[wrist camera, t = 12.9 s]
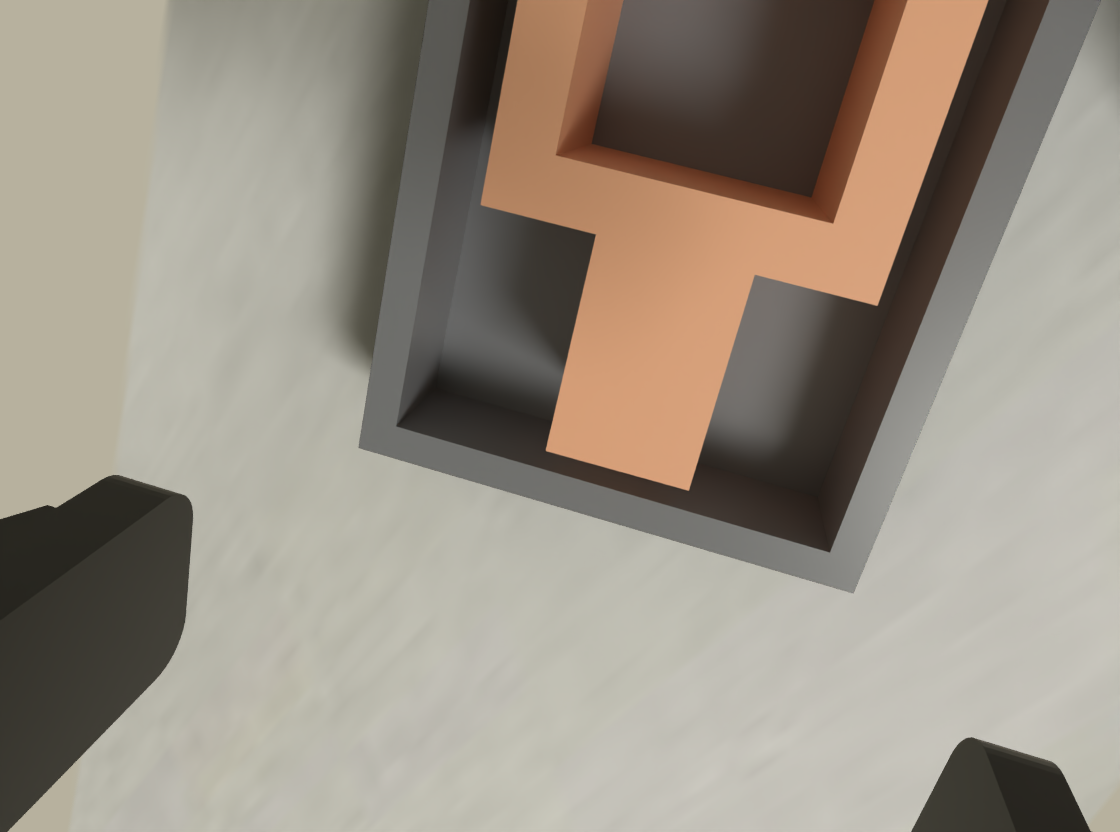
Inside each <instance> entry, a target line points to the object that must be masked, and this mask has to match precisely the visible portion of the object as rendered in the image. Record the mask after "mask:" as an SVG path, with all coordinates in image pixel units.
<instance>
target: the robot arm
mask: <svg viewBox="0 0 1120 832" xmlns="http://www.w3.org/2000/svg"><path fill="white" fill-rule="evenodd" d="M192 524H193V510H192V505H191V502H190V500H189V499H188V498H187V497H186V496H185V495H182V494H179V493H175V492H172V491H169V490H165V489H162V488H159V487H156V486H152V485H149V484H146V483H142V482H139V481H136V480H133V479H129V478H126V477H123V476H119V475H112V476H108V477H106V478H104V479H102V480H100V481H99V482H97V483H96V484H94V485H92V486H91V487H89V488H88V489H86V490H84V491H83V492H81V493H80V494H78V495H76V496H75V497H73V498H72V499H70V500H68V501H67V502H65V503H63V504H62V505H60V506H59V507H57V508H54V507H52V506H48V505H47V506H43V507H40V508H37V509H33V510H30V511H27V512H23V513H20V514H16V515H13V516H10V517H7V518H3V519H0V832H7V831H9V829H10V828H11V827H12V826H13V825H14V824H15V823H16V822H17V821H18V820H19V819H20V818H21V817H22V816H23V815H24V814H25V813H26V812H27V811H28V810H29V809H30V808H31V807H32V806H33V805H34V804H35V803H36V802H37V801H38V800H39V799H40V798H41V797H42V796H43V794H44V793H46V792H47V791H48V789H49V788H50V787H51V786H52V785H53V784H54V783H55V782H56V781H57V780H58V779H59V778H60V777H61V776H62V775H63V774H64V773H65V772H66V771H67V770H68V769H69V768H70V767H71V766H72V765H73V764H74V763H75V762H76V761H77V760H78V759H79V758H80V757H81V756H82V755H83V754H84V753H85V752H86V751H87V749H88V748H89V747H90V746H91V745H92V744H93V743H94V742H95V741H96V740H97V739H98V738H99V737H100V736H101V735H102V734H103V733H104V732H105V731H106V730H107V729H108V728H109V727H110V726H111V725H112V724H113V723H114V722H115V721H116V720H117V719H118V718H119V717H120V716H121V715H122V714H123V713H124V712H125V710H126V709H127V708H128V707H129V706H130V705H131V704H132V703H133V702H134V701H135V700H136V699H137V698H138V697H139V696H140V695H141V694H142V693H143V692H144V691H145V690H146V689H147V688H148V687H149V686H150V685H151V684H152V683H153V682H154V681H155V680H156V679H157V677H158V676H159V675H160V674H161V673H162V671H163V670H164V669H165V667H166V666H167V664H168V663H169V661H170V659H171V658H172V656H173V654H174V652H175V650H176V648H177V645H178V643H179V640H180V638H181V635H182V631H183V628H184V623H185V617H186V605H187V592H188V578H189V565H190V551H191V538H192ZM911 832H1091V831H1090V829H1089V827H1088V825H1087V823H1086V821H1085V819H1084V817H1083V815H1082V812H1081V810H1080V808H1079V806H1078V804H1077V802H1076V800H1075V798H1074V796H1073V794H1072V792H1071V790H1070V787H1069V785H1068V783H1067V781H1066V779H1065V777H1064V775H1063V773H1062V772H1061V770H1060V769H1059V768H1058V767H1057V765H1056V764H1054V763H1053V762H1051V761H1048V760H1044V759H1041V758H1038V757H1034V756H1031V755H1028V754H1025V753H1021V752H1018V751H1015V750H1011V749H1008V748H1005V747H1002V746H998V745H995V744H992V743H989V742H985V741H982V740H979V739H975V738H972V737H971V738H966V739H964V740H963V741H961V742H960V743H959V744H958V745H957V747H956V748H955V749H954V751H953V753H952V754H951V756H950V758H949V760H948V762H947V764H946V766H945V768H944V770H943V771H942V773H941V775H940V777H939V779H938V781H937V783H936V785H935V787H934V789H933V791H932V793H931V795H930V797H929V798H928V800H927V802H926V804H925V806H924V808H923V810H922V812H921V814H920V816H919V818H918V820H917V822H916V824H915V826H914V827H913V829H912V831H911Z"/></svg>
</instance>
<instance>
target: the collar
mask: <svg viewBox="0 0 1120 832" xmlns="http://www.w3.org/2000/svg"><path fill="white" fill-rule="evenodd" d="M987 3H988V0H874V3H873V6H872V10H871V13H870V16H869V19H868V22H867V25H866V28H865V32H864V35H863V38H862V41H861V44H860V47H859V50H858V53H857V57H856V60H855V63H854V66H853V69H852V72H851V75H850V78H849V82H848V85H847V88H846V91H845V94H844V97H843V100H842V104H841V107H840V110H839V113H838V116H837V119H836V122H835V125H834V129H833V132H832V135H831V138H830V141H829V144H828V147H827V151H826V154H825V157H824V160H823V163H822V166H821V169H820V172H819V176H818V179H817V182H816V185H815V188H814V191H813V194H812V197H807V196H803V195H799V194H795V193H791V192H787V191H783V190H778V189H774V188H770V187H766V186H762V185H758V184H754V183H750V182H746V181H742V180H737V179H733V178H729V177H725V176H721V175H717V174H713V173H709V172H705V171H701V170H697V169H692V168H688V167H684V166H680V165H676V164H672V163H668V162H664V161H660V160H656V159H651V158H647V157H643V156H639V155H635V154H631V153H627V152H623V151H619V150H615V149H611V148H606V147H602V146H598V145H594V144H592V139H593V135H594V130H595V126H596V121H597V117H598V112H599V108H600V103H601V99H602V94H603V90H604V85H605V81H606V76H607V72H608V67H609V63H610V58H611V54H612V49H613V45H614V40H615V36H616V31H617V27H618V22H619V18H620V13H621V9H622V4H623V0H518V1H517V7H516V12H515V18H514V23H513V29H512V34H511V40H510V45H509V51H508V56H507V62H506V67H505V73H504V78H503V84H502V89H501V95H500V100H499V106H498V111H497V117H496V122H495V128H494V133H493V139H492V144H491V150H490V155H489V161H488V166H487V172H486V177H485V183H484V188H483V194H482V199H481V205H482V206H486V207H490V208H494V209H498V210H502V211H506V212H510V213H514V214H518V215H522V216H525V217H529V218H533V219H537V220H541V221H545V222H549V223H553V224H557V225H561V226H565V227H569V228H573V229H577V230H581V231H585V232H589V233H592V234H596V237H595V241H594V245H593V250H592V254H591V258H590V263H589V267H588V271H587V275H586V280H585V284H584V288H583V293H582V297H581V301H580V306H579V310H578V314H577V318H576V323H575V327H574V331H573V336H572V340H571V344H570V348H569V353H568V357H567V361H566V366H565V370H564V374H563V378H562V383H561V387H560V391H559V396H558V400H557V404H556V408H555V413H554V417H553V421H552V426H551V430H550V434H549V438H548V443H547V447H546V451H548V452H551V453H555V454H559V455H562V456H566V457H569V458H573V459H577V460H580V461H584V462H587V463H591V464H595V465H598V466H602V467H605V468H609V469H613V470H616V471H620V472H623V473H627V474H630V475H634V476H638V477H641V478H645V479H648V480H652V481H656V482H659V483H663V484H666V485H670V486H674V487H677V488H681V489H684V490H688V491H689V489H690V485H691V482H692V479H693V475H694V472H695V469H696V466H697V462H698V459H699V456H700V453H701V449H702V446H703V443H704V439H705V436H706V433H707V430H708V426H709V423H710V420H711V417H712V413H713V410H714V407H715V403H716V400H717V397H718V394H719V390H720V387H721V384H722V381H723V377H724V374H725V371H726V367H727V364H728V361H729V358H730V354H731V351H732V348H733V345H734V341H735V338H736V335H737V331H738V328H739V325H740V322H741V318H742V315H743V312H744V309H745V305H746V302H747V299H748V295H749V292H750V289H751V286H752V282H753V279H754V276H755V275H758V276H762V277H766V278H770V279H774V280H778V281H782V282H786V283H790V284H793V285H797V286H801V287H805V288H809V289H813V290H817V291H821V292H825V293H829V294H833V295H837V296H841V297H845V298H849V299H853V300H857V301H860V302H864V303H868V304H872V305H876V306H878V303H879V300H880V298H881V295H882V292H883V289H884V287H885V284H886V281H887V278H888V276H889V273H890V270H891V267H892V265H893V262H894V259H895V256H896V254H897V251H898V248H899V245H900V243H901V240H902V237H903V234H904V232H905V229H906V226H907V223H908V220H909V218H910V215H911V212H912V209H913V207H914V204H915V201H916V198H917V196H918V193H919V190H920V187H921V185H922V182H923V179H924V176H925V174H926V171H927V168H928V165H929V163H930V160H931V157H932V154H933V152H934V149H935V146H936V143H937V141H938V138H939V135H940V132H941V130H942V127H943V124H944V121H945V119H946V116H947V113H948V110H949V108H950V105H951V102H952V99H953V97H954V94H955V91H956V88H957V86H958V83H959V80H960V77H961V75H962V72H963V69H964V66H965V64H966V61H967V58H968V55H969V53H970V50H971V47H972V44H973V42H974V39H975V36H976V33H977V31H978V28H979V25H980V22H981V20H982V17H983V14H984V11H985V9H986V6H987Z"/></svg>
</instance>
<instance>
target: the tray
mask: <svg viewBox="0 0 1120 832" xmlns="http://www.w3.org/2000/svg"><path fill="white" fill-rule="evenodd" d="M517 1H518V0H429V3H428V9H427V16H426V22H425V28H424V35H423V41H422V47H421V54H420V60H419V66H418V73H417V79H416V85H415V92H414V98H413V105H412V111H411V117H410V124H409V130H408V136H407V143H406V149H405V155H404V162H403V168H402V174H401V181H400V187H399V194H398V200H397V206H396V213H395V219H394V225H393V232H392V238H391V244H390V251H389V257H388V263H387V270H386V276H385V283H384V289H383V295H382V302H381V308H380V314H379V321H378V327H377V333H376V340H375V346H374V352H373V359H372V365H371V371H370V378H369V384H368V391H367V397H366V403H365V410H364V416H363V422H362V429H361V435H360V441H359V448H361V449H364V450H367V451H371V452H374V453H378V454H381V455H384V456H388V457H391V458H395V459H398V460H401V461H405V462H408V463H412V464H415V465H418V466H422V467H425V468H429V469H432V470H435V471H439V472H442V473H446V474H449V475H452V476H456V477H459V478H463V479H466V480H469V481H473V482H476V483H480V484H483V485H486V486H490V487H493V488H497V489H500V490H503V491H507V492H510V493H514V494H517V495H520V496H524V497H527V498H531V499H534V500H537V501H541V502H544V503H548V504H551V505H554V506H558V507H561V508H564V509H568V510H571V511H575V512H578V513H581V514H585V515H588V516H592V517H595V518H598V519H602V520H605V521H609V522H612V523H615V524H619V525H622V526H626V527H629V528H632V529H636V530H639V531H643V532H646V533H649V534H653V535H656V536H660V537H663V538H666V539H670V540H673V541H677V542H680V543H683V544H687V545H690V546H694V547H697V548H700V549H704V550H707V551H711V552H714V553H717V554H721V555H724V556H728V557H731V558H734V559H738V560H741V561H745V562H748V563H751V564H755V565H758V566H762V567H765V568H768V569H772V570H775V571H779V572H782V573H785V574H789V575H792V576H796V577H799V578H802V579H806V580H809V581H813V582H816V583H819V584H823V585H826V586H830V587H833V588H836V589H840V590H843V591H847V592H850V593H854V591H855V588H856V586H857V584H858V581H859V579H860V576H861V574H862V572H863V569H864V567H865V564H866V562H867V560H868V557H869V555H870V552H871V550H872V548H873V545H874V543H875V541H876V538H877V536H878V533H879V531H880V529H881V526H882V524H883V521H884V519H885V517H886V514H887V512H888V509H889V507H890V505H891V502H892V500H893V497H894V495H895V493H896V490H897V488H898V485H899V483H900V481H901V478H902V476H903V473H904V471H905V469H906V466H907V464H908V461H909V459H910V457H911V454H912V452H913V450H914V447H915V445H916V442H917V440H918V438H919V435H920V433H921V430H922V428H923V426H924V423H925V421H926V418H927V416H928V414H929V411H930V409H931V406H932V404H933V402H934V399H935V397H936V394H937V392H938V390H939V387H940V385H941V382H942V380H943V378H944V375H945V373H946V370H947V368H948V366H949V363H950V361H951V359H952V356H953V354H954V351H955V349H956V347H957V344H958V342H959V339H960V337H961V335H962V332H963V330H964V327H965V325H966V323H967V320H968V318H969V315H970V313H971V311H972V308H973V306H974V303H975V301H976V299H977V296H978V294H979V291H980V289H981V287H982V284H983V282H984V279H985V277H986V275H987V272H988V270H989V268H990V265H991V263H992V260H993V258H994V256H995V253H996V251H997V248H998V246H999V244H1000V241H1001V239H1002V236H1003V234H1004V232H1005V229H1006V227H1007V224H1008V222H1009V220H1010V217H1011V215H1012V212H1013V210H1014V208H1015V205H1016V203H1017V200H1018V198H1019V196H1020V193H1021V191H1022V188H1023V186H1024V184H1025V181H1026V179H1027V177H1028V174H1029V172H1030V169H1031V167H1032V165H1033V162H1034V160H1035V157H1036V155H1037V153H1038V150H1039V148H1040V145H1041V143H1042V141H1043V138H1044V136H1045V133H1046V131H1047V129H1048V126H1049V124H1050V121H1051V119H1052V117H1053V114H1054V112H1055V109H1056V107H1057V105H1058V102H1059V100H1060V97H1061V95H1062V93H1063V90H1064V88H1065V86H1066V83H1067V81H1068V78H1069V76H1070V74H1071V71H1072V69H1073V66H1074V64H1075V62H1076V59H1077V57H1078V54H1079V52H1080V50H1081V47H1082V45H1083V42H1084V40H1085V38H1086V35H1087V33H1088V30H1089V28H1090V26H1091V23H1092V21H1093V18H1094V16H1095V14H1096V11H1097V9H1098V6H1099V4H1100V2H1101V0H988V3H987V6H986V9H985V11H984V14H983V17H982V20H981V22H980V25H979V28H978V31H977V33H976V36H975V39H974V42H973V44H972V47H971V50H970V53H969V55H968V58H967V61H966V64H965V66H964V69H963V72H962V75H961V77H960V80H959V83H958V86H957V88H956V91H955V94H954V97H953V99H952V102H951V105H950V108H949V110H948V113H947V116H946V119H945V121H944V124H943V127H942V130H941V132H940V135H939V138H938V141H937V143H936V146H935V149H934V152H933V154H932V157H931V160H930V163H929V165H928V168H927V171H926V174H925V176H924V179H923V182H922V185H921V187H920V190H919V193H918V196H917V198H916V201H915V204H914V207H913V209H912V212H911V215H910V218H909V220H908V223H907V226H906V229H905V232H904V234H903V237H902V240H901V243H900V245H899V248H898V251H897V254H896V256H895V259H894V262H893V265H892V267H891V270H890V273H889V276H888V278H887V281H886V284H885V287H884V289H883V292H882V295H881V298H880V300H879V303H878V306H876V305H872V304H868V303H864V302H860V301H857V300H853V299H849V298H845V297H841V296H837V295H833V294H829V293H825V292H821V291H817V290H813V289H809V288H805V287H801V286H797V285H793V284H790V283H786V282H782V281H778V280H774V279H770V278H766V277H762V276H758V275H755V276H754V279H753V282H752V286H751V289H750V292H749V295H748V299H747V302H746V305H745V309H744V312H743V315H742V318H741V322H740V325H739V328H738V331H737V335H736V338H735V341H734V345H733V348H732V351H731V354H730V358H729V361H728V364H727V367H726V371H725V374H724V377H723V381H722V384H721V387H720V390H719V394H718V397H717V400H716V403H715V407H714V410H713V413H712V417H711V420H710V423H709V426H708V430H707V433H706V436H705V439H704V443H703V446H702V449H701V453H700V456H699V459H698V462H697V466H696V469H695V472H694V475H693V479H692V482H691V485H690V489H689V491H688V490H684V489H681V488H677V487H674V486H670V485H666V484H663V483H659V482H656V481H652V480H648V479H645V478H641V477H638V476H634V475H630V474H627V473H623V472H620V471H616V470H613V469H609V468H605V467H602V466H598V465H595V464H591V463H587V462H584V461H580V460H577V459H573V458H569V457H566V456H562V455H559V454H555V453H551V452H548V451H546V447H547V443H548V438H549V434H550V430H551V426H552V421H553V417H554V413H555V408H556V404H557V400H558V396H559V391H560V387H561V383H562V378H563V374H564V370H565V366H566V361H567V357H568V353H569V348H570V344H571V340H572V336H573V331H574V327H575V323H576V318H577V314H578V310H579V306H580V301H581V297H582V293H583V288H584V284H585V280H586V275H587V271H588V267H589V263H590V258H591V254H592V250H593V245H594V241H595V237H596V234H592V233H589V232H585V231H581V230H577V229H573V228H569V227H565V226H561V225H557V224H553V223H549V222H545V221H541V220H537V219H533V218H529V217H525V216H522V215H518V214H514V213H510V212H506V211H502V210H498V209H494V208H490V207H486V206H482V205H481V199H482V194H483V188H484V183H485V177H486V172H487V166H488V161H489V155H490V150H491V144H492V139H493V133H494V128H495V122H496V117H497V111H498V106H499V100H500V95H501V89H502V84H503V78H504V73H505V67H506V62H507V56H508V51H509V45H510V40H511V34H512V29H513V23H514V18H515V12H516V7H517ZM873 3H874V0H623V4H622V9H621V13H620V18H619V22H618V27H617V31H616V36H615V40H614V45H613V49H612V54H611V58H610V63H609V67H608V72H607V76H606V81H605V85H604V90H603V94H602V99H601V103H600V108H599V112H598V117H597V121H596V126H595V130H594V135H593V139H592V144H594V145H598V146H602V147H606V148H611V149H615V150H619V151H623V152H627V153H631V154H635V155H639V156H643V157H647V158H651V159H656V160H660V161H664V162H668V163H672V164H676V165H680V166H684V167H688V168H692V169H697V170H701V171H705V172H709V173H713V174H717V175H721V176H725V177H729V178H733V179H737V180H742V181H746V182H750V183H754V184H758V185H762V186H766V187H770V188H774V189H778V190H783V191H787V192H791V193H795V194H799V195H803V196H807V197H812V194H813V191H814V188H815V185H816V182H817V179H818V176H819V172H820V169H821V166H822V163H823V160H824V157H825V154H826V151H827V147H828V144H829V141H830V138H831V135H832V132H833V129H834V125H835V122H836V119H837V116H838V113H839V110H840V107H841V104H842V100H843V97H844V94H845V91H846V88H847V85H848V82H849V78H850V75H851V72H852V69H853V66H854V63H855V60H856V57H857V53H858V50H859V47H860V44H861V41H862V38H863V35H864V32H865V28H866V25H867V22H868V19H869V16H870V13H871V10H872V6H873Z"/></svg>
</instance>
